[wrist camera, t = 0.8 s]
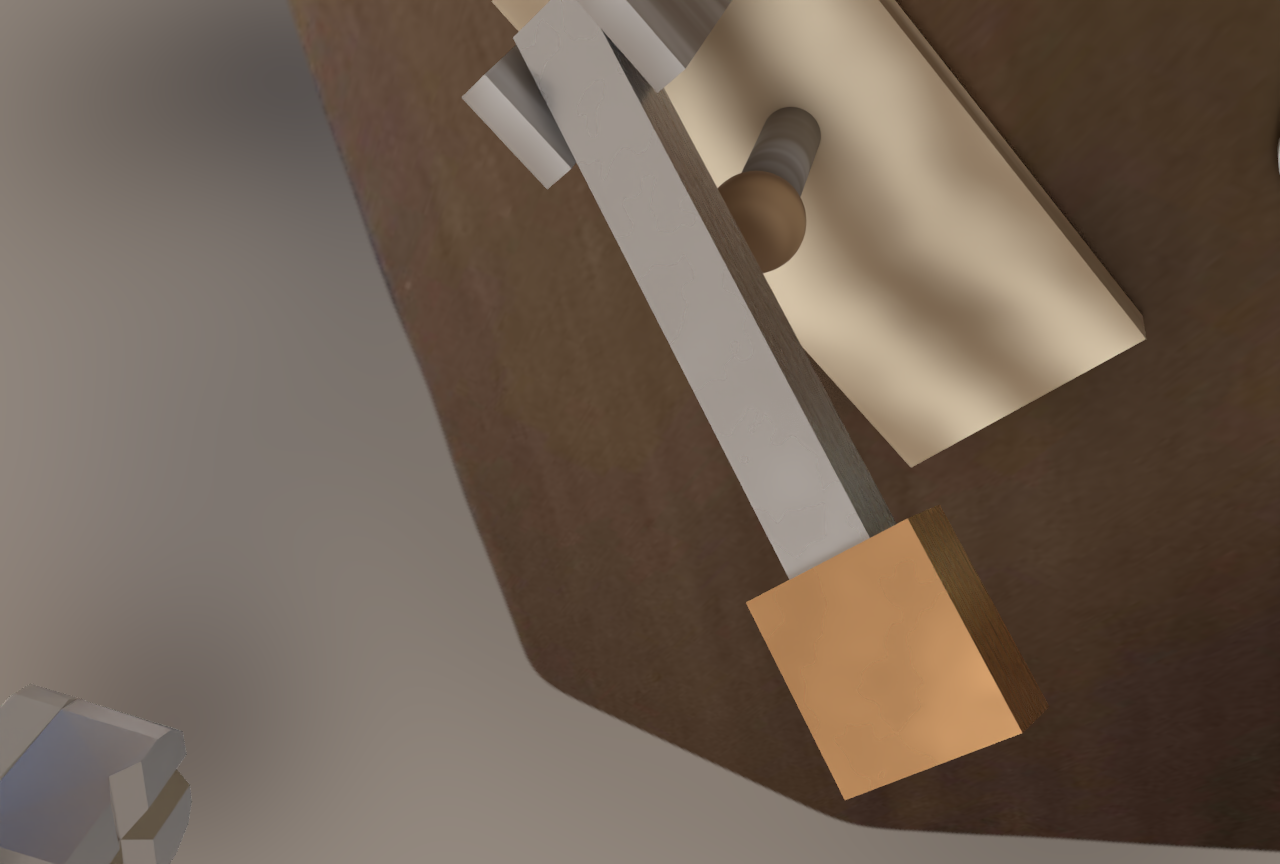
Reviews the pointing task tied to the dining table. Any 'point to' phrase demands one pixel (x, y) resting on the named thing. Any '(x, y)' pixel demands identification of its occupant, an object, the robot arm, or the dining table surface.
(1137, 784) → the dining table surface
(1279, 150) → the salad plate
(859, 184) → the press base
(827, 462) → the press lever
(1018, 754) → the dining table surface
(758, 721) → the dining table surface
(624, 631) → the dining table surface
